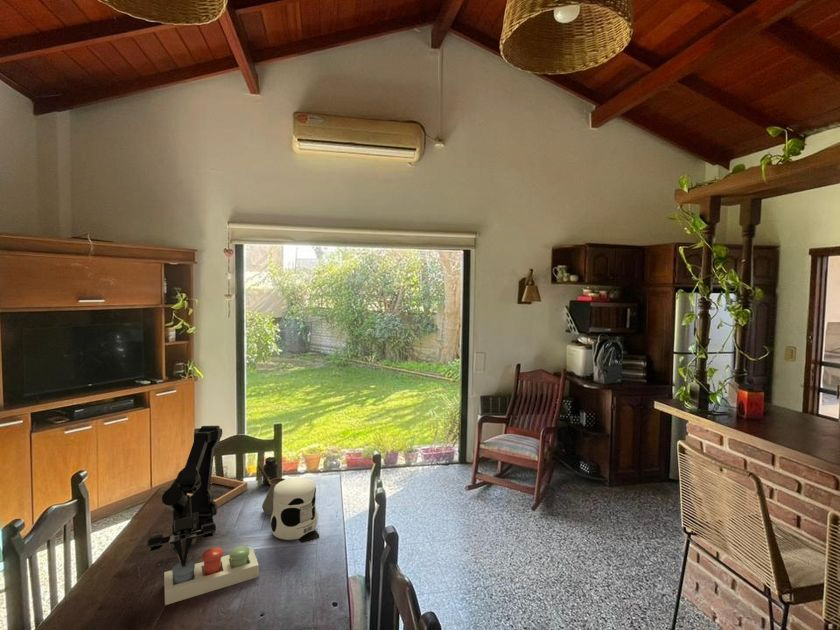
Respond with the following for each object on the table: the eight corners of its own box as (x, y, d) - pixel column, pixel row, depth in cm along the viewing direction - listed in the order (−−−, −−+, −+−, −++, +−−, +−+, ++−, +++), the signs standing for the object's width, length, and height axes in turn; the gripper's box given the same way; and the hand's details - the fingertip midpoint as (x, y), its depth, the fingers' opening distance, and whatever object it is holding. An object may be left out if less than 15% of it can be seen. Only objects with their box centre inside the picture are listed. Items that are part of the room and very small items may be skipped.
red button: (200, 569, 137) (201, 550, 137) (221, 563, 140) (221, 545, 140) (202, 580, 132) (202, 561, 132) (224, 574, 135) (224, 555, 135)
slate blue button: (172, 582, 133) (172, 564, 133) (193, 576, 136) (193, 558, 136) (172, 594, 128) (172, 575, 128) (195, 588, 131) (195, 569, 131)
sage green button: (228, 566, 141) (228, 549, 141) (247, 561, 145) (247, 544, 144) (230, 577, 136) (230, 559, 136) (250, 571, 140) (251, 553, 139)
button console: (164, 584, 134) (164, 572, 134) (252, 559, 147) (252, 548, 147) (164, 605, 125) (164, 592, 125) (258, 576, 139) (258, 564, 139)
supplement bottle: (263, 487, 199) (263, 462, 199) (261, 481, 205) (261, 457, 205) (278, 485, 203) (279, 460, 202) (276, 479, 209) (276, 455, 208)
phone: (307, 518, 174) (320, 536, 162) (307, 520, 174) (320, 538, 162) (289, 523, 170) (300, 542, 158) (289, 525, 170) (300, 544, 158)
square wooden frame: (178, 499, 186) (178, 492, 186) (212, 481, 204) (212, 475, 204) (215, 508, 180) (215, 501, 180) (247, 488, 198) (247, 482, 198)
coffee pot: (296, 511, 180) (297, 476, 179) (271, 521, 171) (271, 485, 170) (269, 494, 194) (269, 461, 193) (244, 503, 185) (245, 469, 184)
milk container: (279, 518, 174) (280, 475, 172) (322, 520, 173) (323, 477, 172) (263, 544, 156) (263, 496, 155) (310, 546, 156) (311, 498, 155)
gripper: (147, 512, 130) (147, 567, 122) (215, 498, 140) (219, 549, 131) (148, 524, 138) (147, 578, 129) (212, 510, 147) (216, 559, 139)
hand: (183, 565), depth 132 cm, fingers closed, pressing on slate blue button
